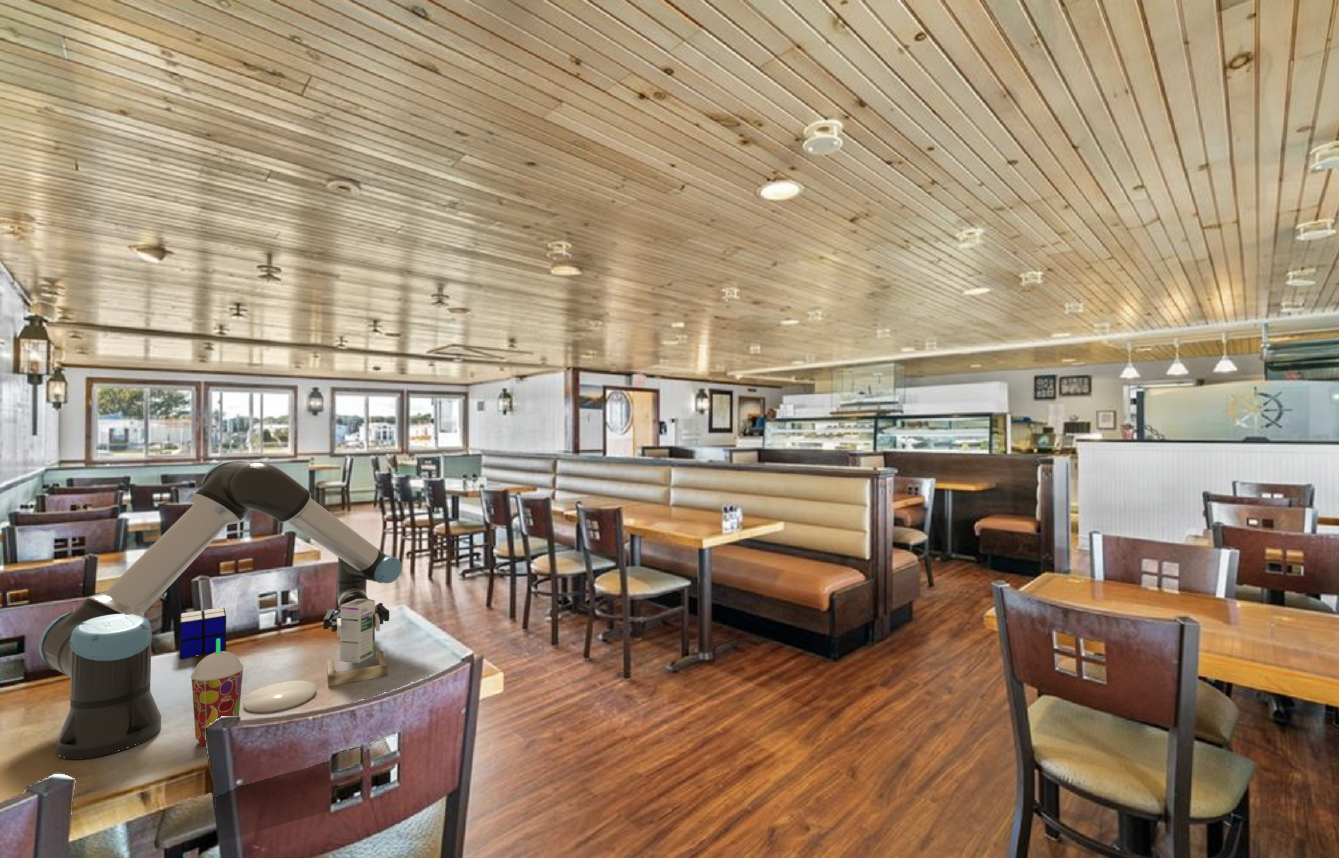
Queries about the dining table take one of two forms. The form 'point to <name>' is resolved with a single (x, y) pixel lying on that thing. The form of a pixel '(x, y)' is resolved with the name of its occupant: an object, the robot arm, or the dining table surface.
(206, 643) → the puzzle cube
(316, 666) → the dining table surface
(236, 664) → the smoothie
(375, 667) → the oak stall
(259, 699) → the ceramic plate
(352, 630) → the syrup box
